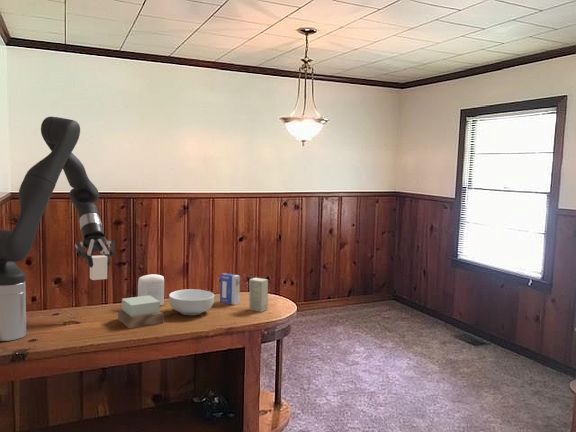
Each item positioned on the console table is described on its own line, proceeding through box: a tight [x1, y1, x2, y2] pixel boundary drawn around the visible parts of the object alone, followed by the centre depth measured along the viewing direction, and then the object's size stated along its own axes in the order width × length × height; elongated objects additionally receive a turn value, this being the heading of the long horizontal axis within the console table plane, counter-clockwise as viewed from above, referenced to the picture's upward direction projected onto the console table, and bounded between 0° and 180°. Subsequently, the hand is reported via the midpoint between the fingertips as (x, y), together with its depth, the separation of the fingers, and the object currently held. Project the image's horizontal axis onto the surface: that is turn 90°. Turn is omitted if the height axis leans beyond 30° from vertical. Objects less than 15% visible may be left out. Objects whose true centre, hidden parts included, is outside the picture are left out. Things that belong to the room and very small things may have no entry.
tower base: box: [117, 308, 164, 329], centre depth 172 cm, size 12×12×4 cm
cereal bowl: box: [168, 288, 215, 316], centre depth 185 cm, size 17×17×7 cm
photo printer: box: [137, 273, 165, 306], centre depth 192 cm, size 10×4×12 cm, turn 123°
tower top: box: [121, 295, 161, 317], centre depth 172 cm, size 10×10×4 cm
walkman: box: [219, 272, 241, 306], centre depth 200 cm, size 8×3×12 cm, turn 60°
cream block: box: [89, 254, 108, 281], centre depth 174 cm, size 5×4×8 cm
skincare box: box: [248, 277, 269, 313], centre depth 191 cm, size 6×4×12 cm
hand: (100, 265), depth 173 cm, fingers closed on cream block, 5 cm apart
